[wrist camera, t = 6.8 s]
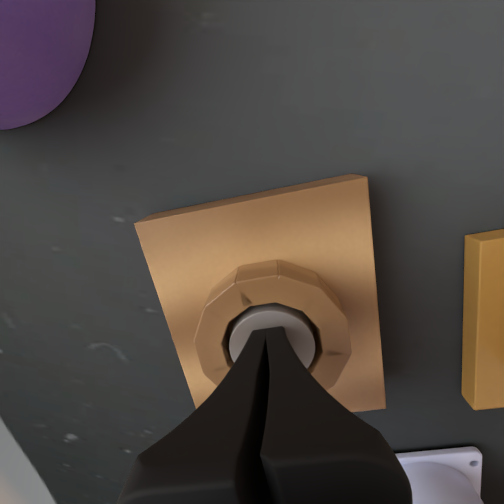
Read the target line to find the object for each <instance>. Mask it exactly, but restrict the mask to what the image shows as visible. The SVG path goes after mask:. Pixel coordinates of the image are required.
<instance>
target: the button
mask: <svg viewBox="0 0 504 504" xmlns="http://www.w3.org/2000/svg"><path fill="white" fill-rule="evenodd" d="M278 326H282V327H284V328H285V332H286V336H287V338H288V340H289V342H290V344H291V346H292V348H293V349H294V351H295V353H296V354H297V356H298V357H299V359H300V360H301V362H302V363H303V364H304V366H305V367H306V368H308V367H309V365H310V364H311V362H312V360H313V357H314V354H315V341H314V337H313V333H312V329H311V325H310V321H309V318H308V316H307V315H306V314H305V313H304V312H303V311H301V310H298V309H295V308H292V307H289V306H286V305H283V304H279V303H276V302H275V303H268V304H262V305H256V306H249V307H248V308H247V309H246V310H244V311H243V312H242V313H240V314H239V315H238V316H236V317H235V318H234V322H233V327H232V332H231V337H230V343H229V350H230V355H231V358H232V360H233V362H235V361H236V359H237V357H238V356H239V354H240V352H241V351H242V349H243V347H244V345H245V344H246V342H247V340H248V338H249V336H250V334H251V332H252V331H253V330H258V329H265V328H272V327H278Z"/></svg>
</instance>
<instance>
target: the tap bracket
mask: <svg viewBox="0 0 504 504" xmlns="http://www.w3.org/2000/svg"><path fill="white" fill-rule="evenodd" d="M462 396H463V397H464V398H465V399H466V400H467V402H468V403H469V404H470V405H471V407H472V408H473V409H474V410H483V409H492V408H501V407H504V229H499V230H493V231H488V232H482V233H476V234H470V235H466V236H465V249H464V298H463V347H462Z"/></svg>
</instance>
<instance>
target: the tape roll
mask: <svg viewBox="0 0 504 504" xmlns="http://www.w3.org/2000/svg"><path fill="white" fill-rule="evenodd" d="M94 22H95V0H0V130H7V129H12V128H17V127H20V126H24V125H27V124H30V123H32V122H34V121H36V120H38V119H40V118H42V117H44V116H45V115H47V114H48V113H49V112H51V111H52V110H53V109H55V108H56V107H57V106H58V105H59V104H60V103H61V102H62V101H63V100H64V99H65V97H66V96H67V95H68V94H69V93H70V91H71V90H72V88H73V86H74V85H75V83H76V82H77V80H78V78H79V76H80V74H81V72H82V69H83V67H84V65H85V62H86V59H87V56H88V53H89V49H90V45H91V41H92V36H93V29H94Z"/></svg>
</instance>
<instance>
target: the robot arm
mask: <svg viewBox="0 0 504 504" xmlns="http://www.w3.org/2000/svg"><path fill="white" fill-rule="evenodd" d="M481 471H482V454H481V452H480V451H479V450H478V449H477V448H476V447H471V446H470V447H460V448H449V449H439V450H428V451H418V452H407V453H397V454H395V453H394V452H393V450H392V449H391V447H390V446H389V444H388V443H387V441H386V440H385V439H384V437H383V436H382V434H381V433H380V432H379V431H378V430H376V429H375V428H373V427H372V426H370V425H369V424H367V423H366V422H364V421H363V420H361V419H360V418H358V417H357V416H356V415H354V414H353V413H352V412H350V411H349V410H348V409H347V408H345V407H344V406H343V405H342V404H341V403H340V402H338V401H337V400H336V399H335V398H334V397H333V396H332V395H330V394H329V393H328V392H327V391H326V390H325V389H324V388H323V387H322V386H321V385H320V384H319V383H318V381H317V380H316V379H315V378H314V377H313V376H312V375H311V373H310V372H309V371H308V370H307V368H306V367H305V366H304V364H303V363H302V362H301V360H300V359H299V357H298V356H297V354H296V353H295V351H294V349H293V348H292V346H291V344H290V342H289V340H288V338H287V336H286V332H285V328H284V327H282V326H278V327H272V328H265V329H258V330H253V331H252V332H251V334H250V336H249V338H248V340H247V342H246V344H245V345H244V347H243V349H242V351H241V352H240V354H239V356H238V357H237V359H236V361H235V362H234V364H233V365H232V367H231V368H230V370H229V371H228V373H227V374H226V376H225V377H224V378H223V380H222V381H221V382H220V384H219V385H218V386H217V388H216V389H215V390H214V391H213V392H212V393H211V395H210V396H209V397H208V398H207V399H206V400H205V401H204V402H203V403H202V404H201V405H200V406H199V407H198V408H197V409H196V410H195V411H194V412H193V413H192V414H191V415H190V416H189V417H188V418H187V419H185V420H184V421H183V422H182V423H181V424H180V425H178V426H177V427H176V428H175V429H174V430H172V431H171V432H170V433H169V434H167V435H166V436H165V437H163V438H162V439H161V440H159V441H158V442H156V443H155V444H154V445H152V446H151V447H150V448H148V449H147V450H145V451H144V452H142V453H141V454H139V455H138V457H137V459H136V461H135V463H134V465H133V467H132V469H131V471H130V473H129V475H128V477H127V480H126V482H125V484H124V487H123V489H122V491H121V494H120V496H119V499H118V501H117V503H116V504H484V503H483V501H482V500H481V498H480V491H481Z"/></svg>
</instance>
